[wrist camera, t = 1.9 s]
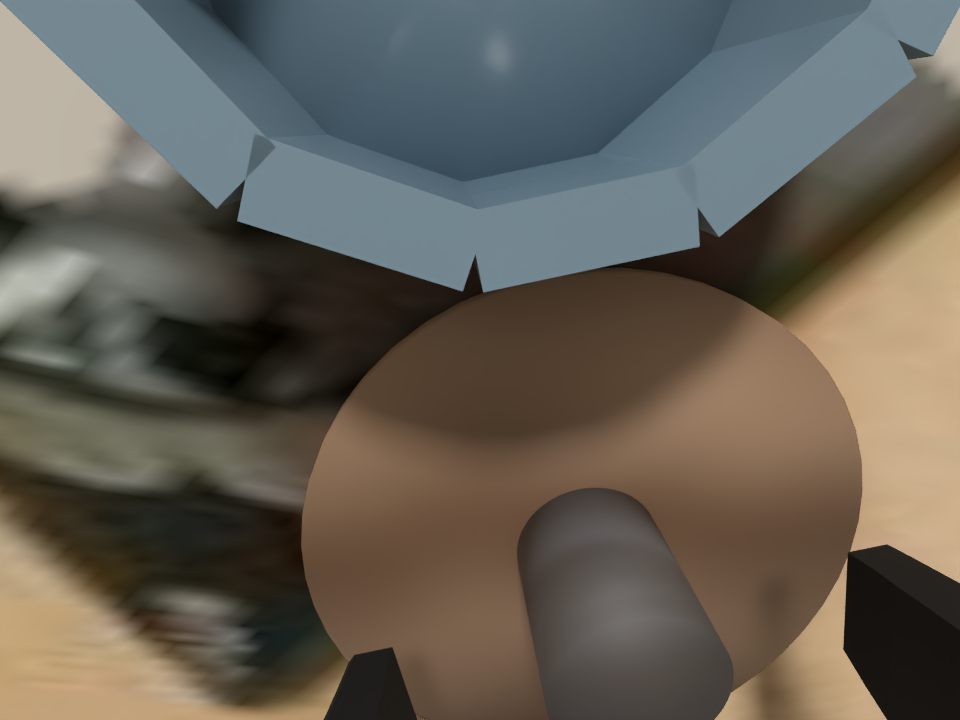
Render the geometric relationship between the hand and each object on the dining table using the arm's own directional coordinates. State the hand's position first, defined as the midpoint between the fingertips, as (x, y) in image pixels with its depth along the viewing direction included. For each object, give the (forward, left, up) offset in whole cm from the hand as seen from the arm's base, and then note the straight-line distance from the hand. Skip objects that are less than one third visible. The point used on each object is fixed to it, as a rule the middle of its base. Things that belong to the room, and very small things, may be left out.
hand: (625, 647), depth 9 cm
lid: (0, 0, -3) cm, 3 cm away
